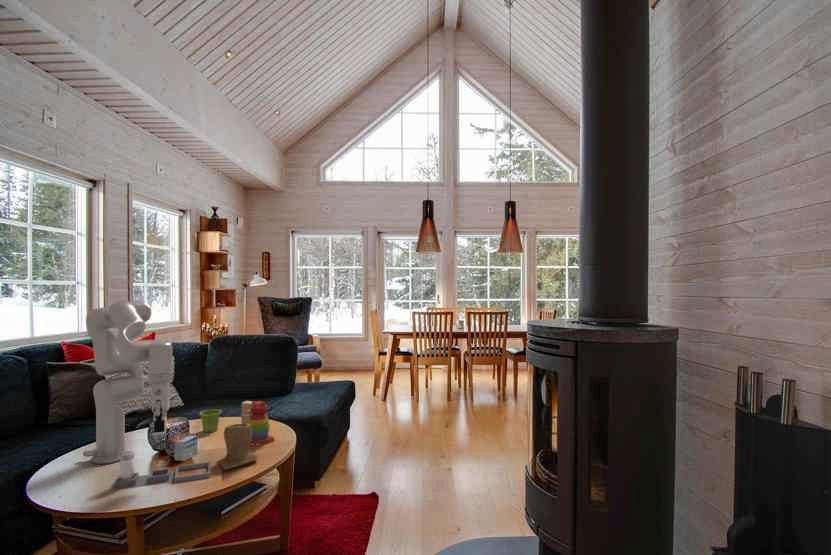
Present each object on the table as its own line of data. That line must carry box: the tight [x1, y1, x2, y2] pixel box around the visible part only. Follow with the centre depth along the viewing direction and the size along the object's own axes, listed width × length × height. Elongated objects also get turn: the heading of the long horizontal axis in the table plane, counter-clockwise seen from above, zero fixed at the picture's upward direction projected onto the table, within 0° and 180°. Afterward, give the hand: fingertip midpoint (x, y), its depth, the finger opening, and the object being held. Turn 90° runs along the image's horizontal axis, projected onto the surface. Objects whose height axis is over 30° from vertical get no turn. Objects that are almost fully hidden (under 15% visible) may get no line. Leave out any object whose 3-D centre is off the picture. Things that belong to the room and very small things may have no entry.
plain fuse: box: [119, 451, 135, 481], centre depth 162 cm, size 4×4×10 cm
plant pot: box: [199, 409, 222, 433], centre depth 223 cm, size 9×9×9 cm
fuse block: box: [110, 467, 175, 492], centre depth 164 cm, size 18×10×4 cm, turn 112°
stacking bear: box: [248, 400, 275, 446], centre depth 207 cm, size 11×10×18 cm
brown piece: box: [217, 423, 259, 471], centre depth 182 cm, size 15×12×15 cm
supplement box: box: [240, 400, 257, 424], centre depth 224 cm, size 8×5×13 cm, turn 80°
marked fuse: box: [153, 410, 168, 440], centre depth 166 cm, size 4×4×10 cm
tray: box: [173, 461, 212, 483], centre depth 169 cm, size 11×11×3 cm
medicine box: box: [174, 435, 198, 462], centre depth 186 cm, size 8×4×9 cm, turn 168°
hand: (160, 429), depth 166 cm, fingers closed on marked fuse, 4 cm apart
